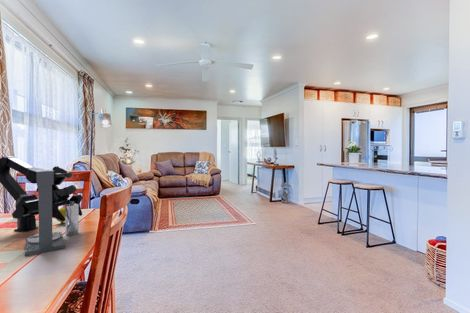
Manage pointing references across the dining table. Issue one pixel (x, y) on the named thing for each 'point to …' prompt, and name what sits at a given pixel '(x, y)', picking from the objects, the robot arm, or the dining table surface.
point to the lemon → (62, 213)
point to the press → (45, 216)
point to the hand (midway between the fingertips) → (73, 217)
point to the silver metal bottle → (71, 219)
